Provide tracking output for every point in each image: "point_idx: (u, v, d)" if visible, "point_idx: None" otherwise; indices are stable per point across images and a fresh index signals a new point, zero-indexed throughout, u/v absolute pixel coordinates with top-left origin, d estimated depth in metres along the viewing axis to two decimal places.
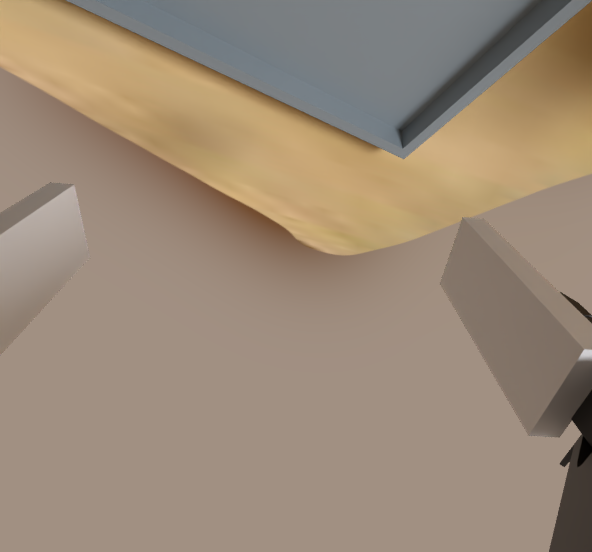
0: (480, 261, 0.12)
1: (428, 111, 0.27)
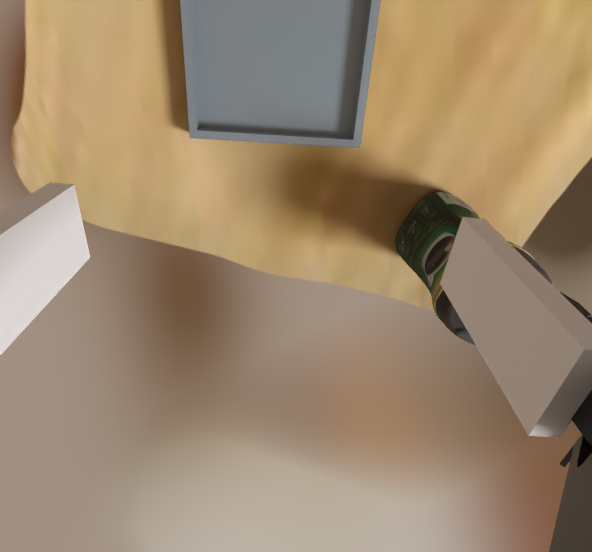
0: (480, 262, 0.12)
1: (224, 129, 0.41)
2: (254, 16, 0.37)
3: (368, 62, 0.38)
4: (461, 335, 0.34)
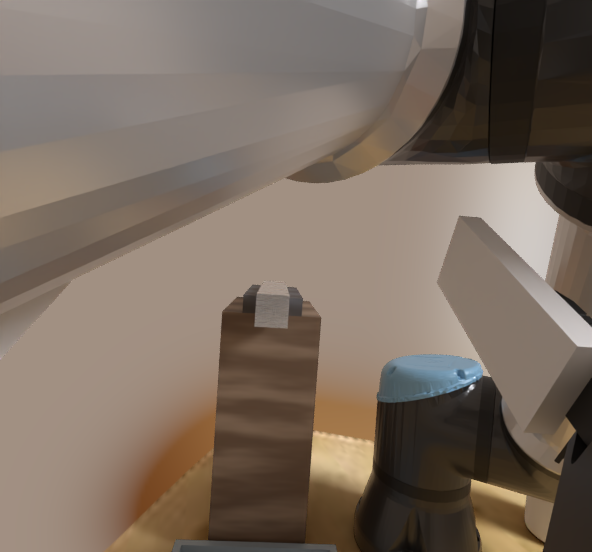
0: (475, 260, 0.12)
1: None
2: None
3: None
4: None
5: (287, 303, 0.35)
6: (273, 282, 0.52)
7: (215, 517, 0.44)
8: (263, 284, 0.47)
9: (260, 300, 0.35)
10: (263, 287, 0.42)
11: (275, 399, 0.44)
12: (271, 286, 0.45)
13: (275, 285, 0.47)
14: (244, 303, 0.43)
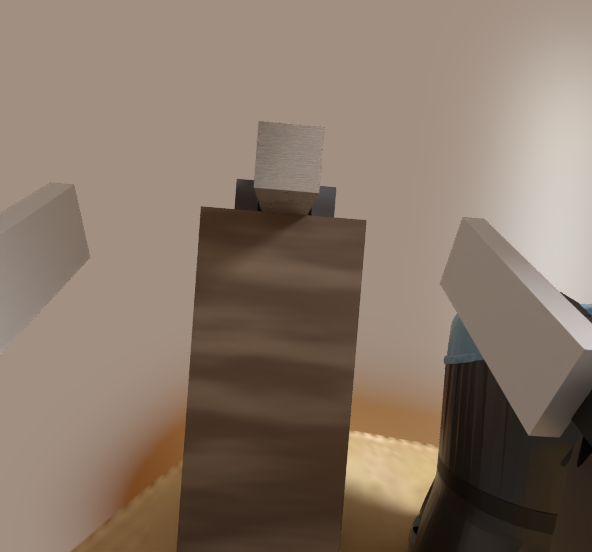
0: (480, 262, 0.12)
1: None
2: None
3: None
4: None
5: (319, 143, 0.18)
6: None
7: None
8: None
9: (265, 134, 0.18)
10: None
11: (288, 356, 0.26)
12: None
13: None
14: (238, 193, 0.26)
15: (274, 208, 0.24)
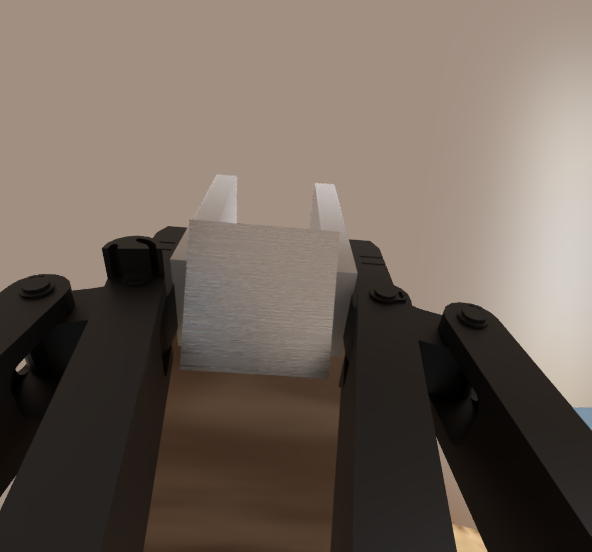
0: (315, 218, 0.13)
1: None
2: None
3: None
4: None
5: (329, 266, 0.08)
6: None
7: None
8: None
9: (205, 250, 0.08)
10: None
11: (274, 546, 0.16)
12: None
13: None
14: None
15: None
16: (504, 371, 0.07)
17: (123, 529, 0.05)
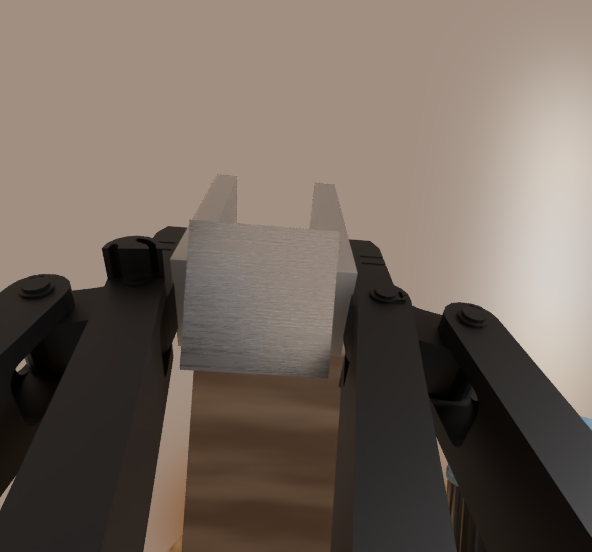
0: (315, 218, 0.13)
1: None
2: None
3: None
4: None
5: (329, 266, 0.08)
6: None
7: None
8: None
9: (205, 249, 0.08)
10: None
11: (287, 500, 0.25)
12: None
13: None
14: None
15: None
16: (504, 371, 0.07)
17: (123, 529, 0.05)
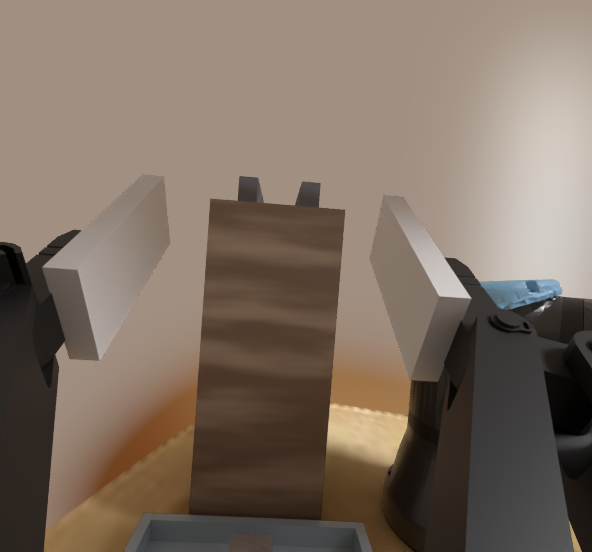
0: (391, 234, 0.13)
1: None
2: None
3: None
4: None
5: None
6: None
7: (198, 483, 0.32)
8: None
9: None
10: None
11: (282, 321, 0.32)
12: None
13: None
14: (240, 187, 0.31)
15: None
16: None
17: (6, 544, 0.05)
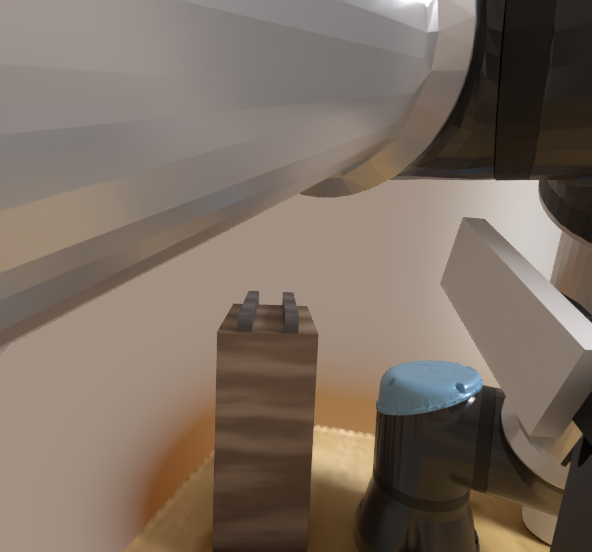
0: (480, 262, 0.12)
1: None
2: None
3: None
4: None
5: None
6: None
7: (218, 530, 0.45)
8: None
9: None
10: None
11: (274, 416, 0.43)
12: None
13: None
14: (239, 322, 0.42)
15: None
16: None
17: None
